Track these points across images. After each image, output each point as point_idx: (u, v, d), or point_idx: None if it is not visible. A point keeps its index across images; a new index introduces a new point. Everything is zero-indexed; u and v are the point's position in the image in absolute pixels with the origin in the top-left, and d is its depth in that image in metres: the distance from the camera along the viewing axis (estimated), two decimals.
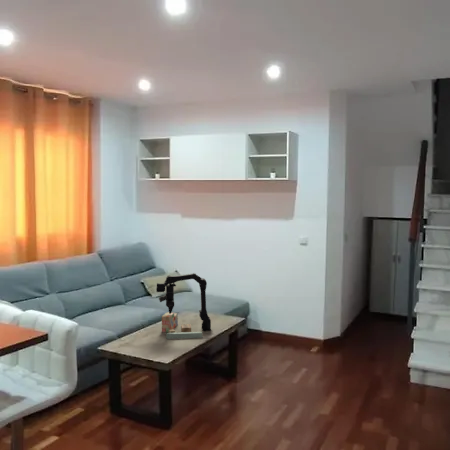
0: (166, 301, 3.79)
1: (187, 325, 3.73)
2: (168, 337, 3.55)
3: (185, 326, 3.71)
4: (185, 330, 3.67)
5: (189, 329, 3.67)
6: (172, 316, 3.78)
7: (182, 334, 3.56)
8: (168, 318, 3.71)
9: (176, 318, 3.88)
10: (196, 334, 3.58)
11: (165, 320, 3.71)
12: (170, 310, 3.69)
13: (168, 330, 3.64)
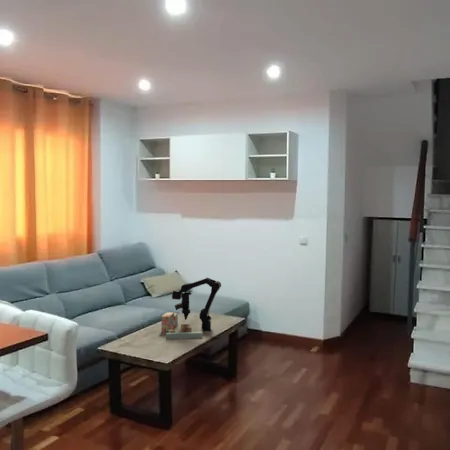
0: None
1: (187, 325, 3.73)
2: (168, 337, 3.55)
3: (185, 326, 3.71)
4: (185, 330, 3.67)
5: (189, 329, 3.67)
6: (172, 316, 3.78)
7: (182, 334, 3.56)
8: (168, 318, 3.71)
9: (176, 318, 3.89)
10: (196, 334, 3.58)
11: (165, 320, 3.71)
12: (186, 316, 3.81)
13: (168, 330, 3.64)
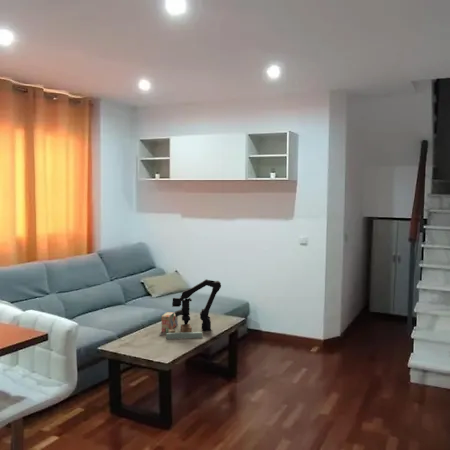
0: None
1: (187, 325, 3.73)
2: (168, 337, 3.55)
3: (185, 326, 3.71)
4: (186, 330, 3.66)
5: (189, 329, 3.67)
6: (172, 316, 3.78)
7: (182, 334, 3.56)
8: (168, 318, 3.71)
9: (176, 318, 3.89)
10: (196, 334, 3.58)
11: (165, 320, 3.72)
12: (186, 323, 3.77)
13: (168, 330, 3.64)
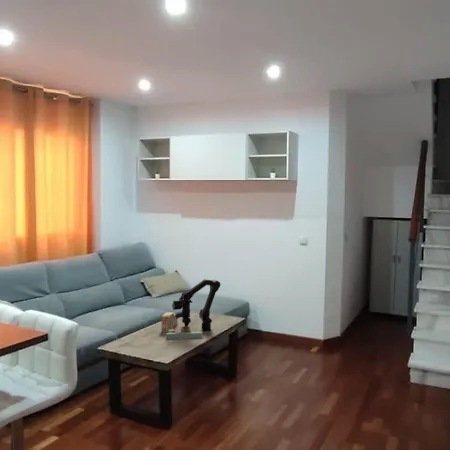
0: None
1: (187, 327, 3.67)
2: (168, 337, 3.55)
3: (184, 328, 3.65)
4: None
5: (188, 331, 3.61)
6: (172, 316, 3.79)
7: (182, 334, 3.56)
8: (168, 318, 3.71)
9: None
10: (196, 334, 3.58)
11: (165, 320, 3.72)
12: (186, 325, 3.70)
13: (168, 330, 3.64)
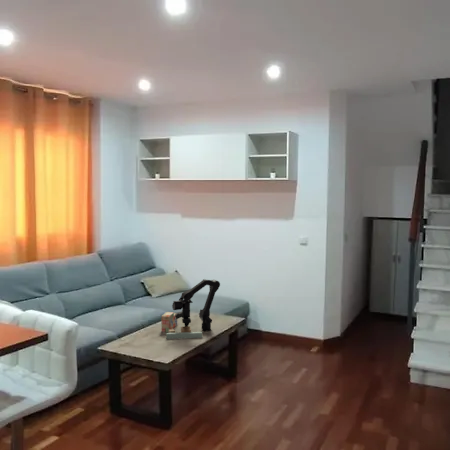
0: None
1: (187, 327, 3.66)
2: (168, 337, 3.55)
3: (184, 328, 3.64)
4: None
5: (189, 331, 3.60)
6: (172, 316, 3.79)
7: (182, 334, 3.56)
8: (168, 318, 3.72)
9: None
10: (196, 334, 3.58)
11: (165, 320, 3.72)
12: (186, 325, 3.70)
13: (168, 330, 3.64)
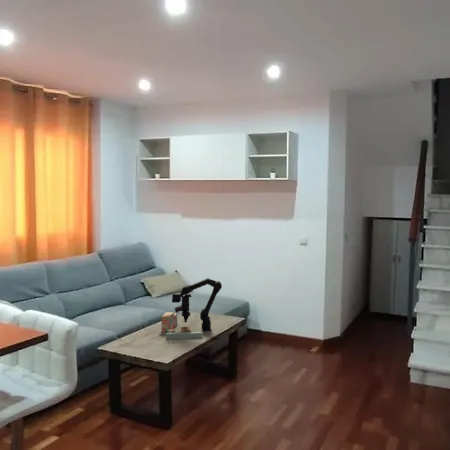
0: None
1: (187, 328, 3.66)
2: (168, 337, 3.55)
3: (184, 328, 3.64)
4: None
5: None
6: (172, 316, 3.79)
7: (182, 334, 3.56)
8: (168, 318, 3.72)
9: (176, 318, 3.89)
10: (196, 334, 3.58)
11: (165, 320, 3.72)
12: (185, 319, 3.76)
13: (168, 330, 3.64)
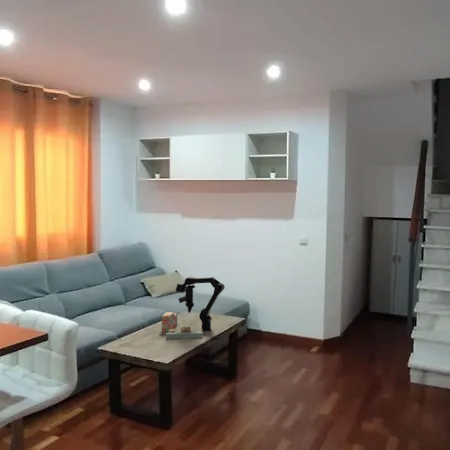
0: (185, 303, 3.83)
1: (187, 328, 3.66)
2: (168, 337, 3.55)
3: (184, 328, 3.64)
4: None
5: None
6: (172, 316, 3.79)
7: (182, 334, 3.56)
8: (168, 318, 3.72)
9: (176, 318, 3.90)
10: (196, 334, 3.58)
11: (165, 320, 3.72)
12: (189, 309, 3.81)
13: (168, 330, 3.64)
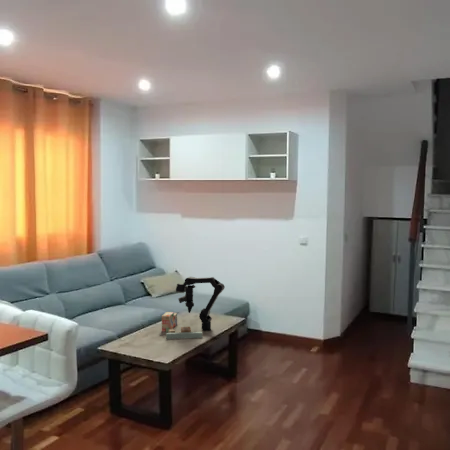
0: (185, 303, 3.83)
1: (187, 328, 3.66)
2: (168, 337, 3.55)
3: (184, 328, 3.64)
4: None
5: None
6: (172, 316, 3.79)
7: (182, 334, 3.56)
8: (168, 318, 3.72)
9: (176, 317, 3.90)
10: (196, 334, 3.58)
11: (165, 320, 3.72)
12: (189, 309, 3.81)
13: (168, 330, 3.64)
